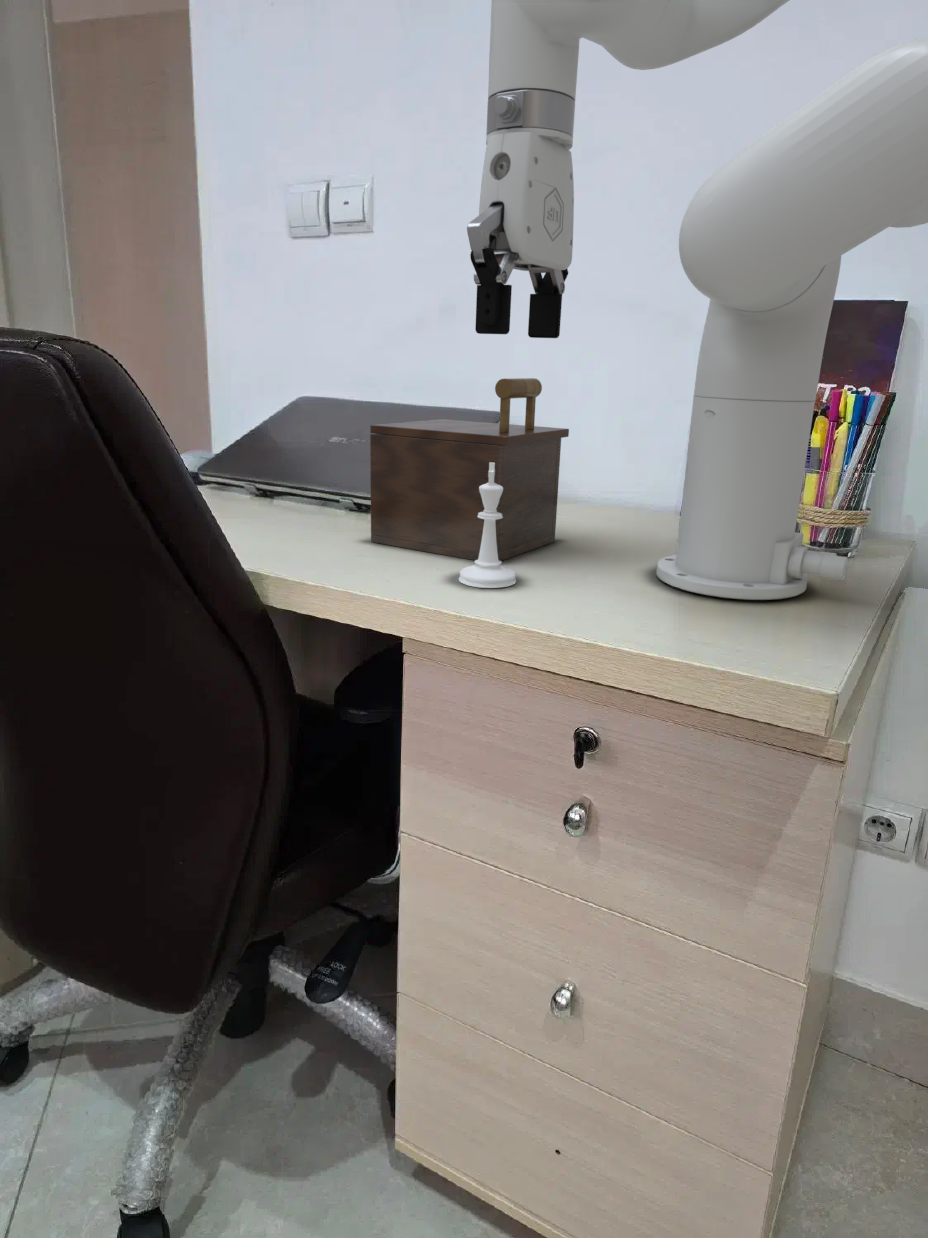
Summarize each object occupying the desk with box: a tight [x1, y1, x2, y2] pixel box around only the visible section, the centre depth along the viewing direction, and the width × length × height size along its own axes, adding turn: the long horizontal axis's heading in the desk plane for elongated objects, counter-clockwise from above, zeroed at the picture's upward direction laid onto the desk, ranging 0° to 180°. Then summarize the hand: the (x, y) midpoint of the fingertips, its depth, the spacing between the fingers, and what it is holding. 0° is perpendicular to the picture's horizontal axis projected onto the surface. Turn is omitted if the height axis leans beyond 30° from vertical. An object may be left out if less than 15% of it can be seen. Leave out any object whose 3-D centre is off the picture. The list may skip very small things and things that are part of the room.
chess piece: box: [458, 463, 517, 589], centre depth 69 cm, size 5×5×10 cm
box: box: [369, 433, 562, 562], centre depth 84 cm, size 15×13×11 cm
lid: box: [369, 377, 570, 446], centre depth 81 cm, size 15×13×6 cm
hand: (519, 335), depth 77 cm, fingers open, 9 cm apart
